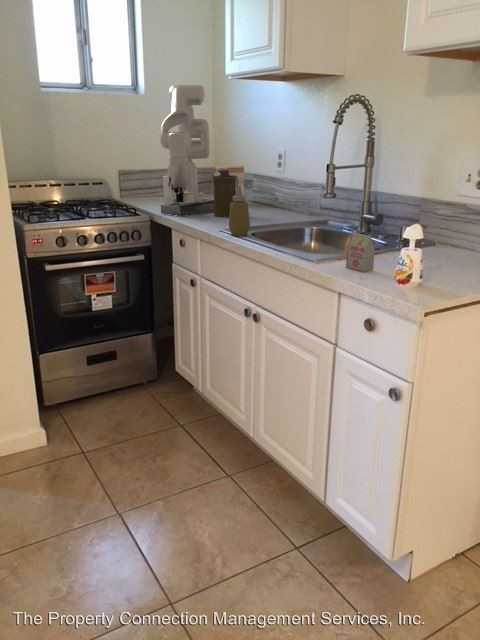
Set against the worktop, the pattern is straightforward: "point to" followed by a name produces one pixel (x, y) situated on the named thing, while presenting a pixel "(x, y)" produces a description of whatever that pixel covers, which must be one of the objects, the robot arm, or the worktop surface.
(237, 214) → the squeeze bottle
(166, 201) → the skincare box
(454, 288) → the worktop surface
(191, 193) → the block
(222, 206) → the canister
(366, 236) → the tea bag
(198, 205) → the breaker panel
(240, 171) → the coffeecake box
